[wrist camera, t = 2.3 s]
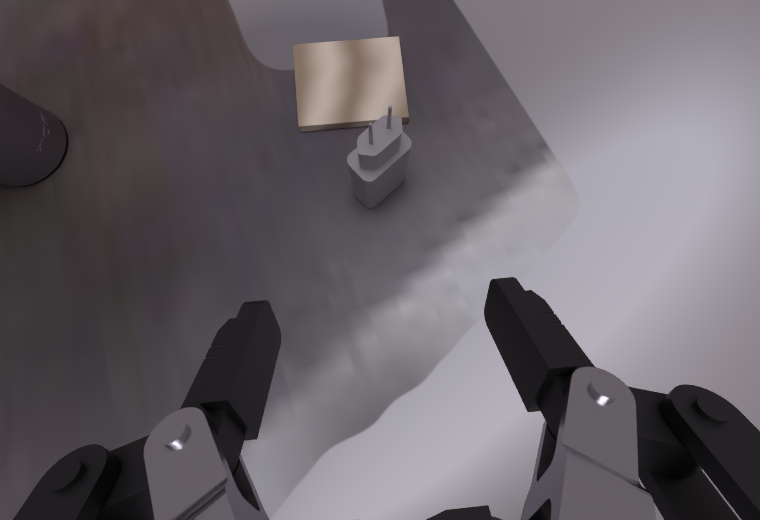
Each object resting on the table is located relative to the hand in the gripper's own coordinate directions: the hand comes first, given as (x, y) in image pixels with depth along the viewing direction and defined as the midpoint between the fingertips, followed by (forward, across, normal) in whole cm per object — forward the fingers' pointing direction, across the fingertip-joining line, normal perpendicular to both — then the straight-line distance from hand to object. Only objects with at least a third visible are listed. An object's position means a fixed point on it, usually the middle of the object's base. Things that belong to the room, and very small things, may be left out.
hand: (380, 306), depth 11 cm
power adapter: (+23, -1, +5) cm, 23 cm away
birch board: (+31, +1, -4) cm, 31 cm away
